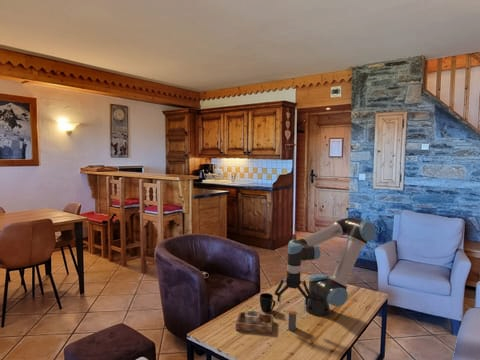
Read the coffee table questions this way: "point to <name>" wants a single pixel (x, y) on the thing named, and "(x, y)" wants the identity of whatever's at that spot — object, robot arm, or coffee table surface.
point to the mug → (266, 302)
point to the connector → (292, 319)
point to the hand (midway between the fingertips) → (292, 308)
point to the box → (254, 322)
